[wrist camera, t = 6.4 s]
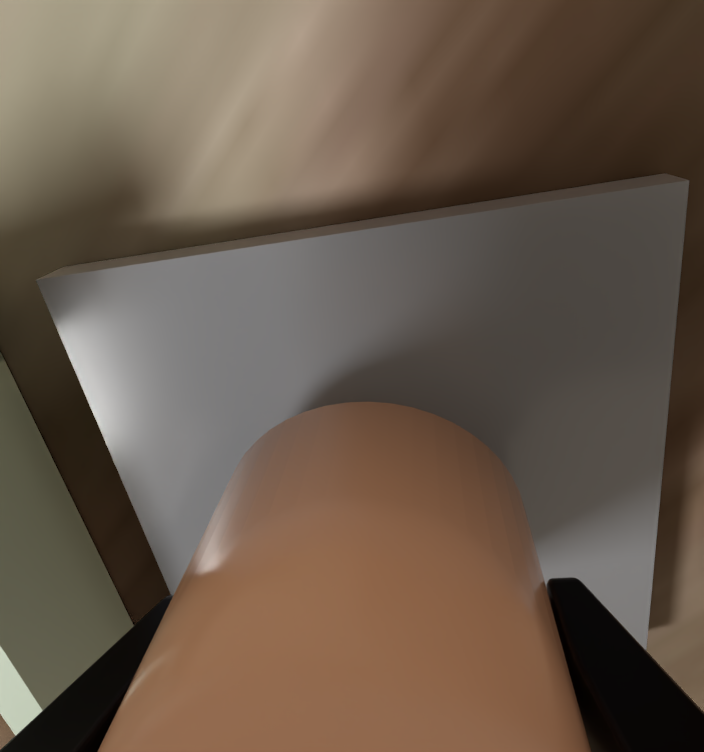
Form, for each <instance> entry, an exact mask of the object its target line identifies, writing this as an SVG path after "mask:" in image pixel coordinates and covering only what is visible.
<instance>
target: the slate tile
mask: <svg viewBox="0 0 704 752" xmlns="http://www.w3.org/2000/svg"><path fill="white" fill-rule="evenodd" d="M688 190H689V180H687V179H684V178H680V177H677V176H673V175H669V174H666V173H664V174H658V175H651V176H645V177H638V178H632V179H625V180H619V181H613V182H606V183H600V184H593V185H587V186H580V187H574V188H567V189H561V190H555V191H548V192H542V193H535V194H529V195H522V196H516V197H510V198H503V199H497V200H490V201H484V202H477V203H471V204H464V205H458V206H452V207H445V208H439V209H432V210H426V211H419V212H413V213H407V214H400V215H394V216H387V217H381V218H374V219H368V220H361V221H355V222H349V223H342V224H336V225H329V226H323V227H316V228H310V229H304V230H297V231H291V232H284V233H278V234H271V235H265V236H258V237H252V238H246V239H239V240H233V241H226V242H220V243H213V244H207V245H201V246H194V247H188V248H181V249H175V250H168V251H162V252H155V253H149V254H143V255H136V256H130V257H123V258H117V259H110V260H104V261H98V262H91V263H85V264H78V265H72V266H65V267H62V268H60V269H58V270H55V271H53V272H51V273H49V274H47V275H45V276H43V277H40V278H38V279H36V282H37V284H38V286H39V289H40V291H41V293H42V296H43V298H44V300H45V303H46V305H47V307H48V310H49V312H50V314H51V317H52V319H53V321H54V324H55V326H56V328H57V331H58V333H59V335H60V338H61V340H62V342H63V345H64V347H65V349H66V351H67V354H68V356H69V358H70V361H71V363H72V365H73V368H74V370H75V372H76V375H77V377H78V379H79V382H80V384H81V386H82V389H83V391H84V393H85V396H86V398H87V400H88V403H89V405H90V407H91V410H92V412H93V414H94V417H95V419H96V421H97V424H98V426H99V428H100V431H101V433H102V435H103V438H104V440H105V442H106V445H107V447H108V449H109V452H110V454H111V456H112V459H113V461H114V463H115V466H116V468H117V470H118V473H119V475H120V477H121V479H122V482H123V484H124V486H125V489H126V491H127V493H128V496H129V498H130V500H131V503H132V505H133V507H134V510H135V512H136V514H137V517H138V519H139V521H140V524H141V526H142V528H143V531H144V533H145V535H146V538H147V540H148V542H149V545H150V547H151V549H152V552H153V554H154V556H155V559H156V561H157V563H158V566H159V568H160V570H161V573H162V575H163V577H164V580H165V582H166V584H167V587H168V589H169V591H170V594H171V595H174V594H175V591H176V589H177V587H178V585H179V583H180V581H181V579H182V577H183V575H184V573H185V571H186V569H187V567H188V565H189V563H190V561H191V559H192V557H193V554H194V552H195V550H196V548H197V546H198V544H199V542H200V540H201V538H202V536H203V534H204V532H205V530H206V528H207V526H208V524H209V522H210V520H211V518H212V515H213V513H214V511H215V509H216V507H217V505H218V503H219V501H220V499H221V497H222V495H223V493H224V491H225V489H226V487H227V485H228V483H229V481H230V479H231V476H232V474H233V472H234V470H235V468H236V466H237V465H238V463H239V462H240V460H241V459H242V457H243V456H244V454H245V453H246V452H247V451H248V450H249V448H250V447H251V446H252V445H253V444H254V443H255V442H256V441H257V440H258V439H259V438H260V437H262V436H263V435H264V434H265V433H267V432H268V431H269V430H270V429H272V428H273V427H275V426H277V425H278V424H280V423H282V422H283V421H285V420H287V419H289V418H291V417H294V416H296V415H298V414H301V413H303V412H306V411H309V410H312V409H316V408H319V407H323V406H328V405H334V404H340V403H346V402H381V403H392V404H397V405H402V406H408V407H413V408H416V409H419V410H422V411H426V412H429V413H432V414H435V415H437V416H439V417H441V418H444V419H446V420H448V421H450V422H453V423H455V424H456V425H458V426H460V427H461V428H463V429H464V430H466V431H468V432H469V433H471V434H472V435H474V436H475V437H476V438H478V439H479V440H480V441H481V442H483V443H484V444H485V445H486V446H488V447H489V449H490V450H491V451H492V452H493V453H494V454H495V455H496V456H497V457H498V458H499V459H500V460H501V461H502V463H503V464H504V466H505V467H506V468H507V470H508V471H509V473H510V474H511V475H512V477H513V479H514V481H515V483H516V485H517V487H518V489H519V491H520V495H521V498H522V501H523V504H524V508H525V511H526V515H527V519H528V522H529V526H530V530H531V533H532V537H533V540H534V544H535V548H536V551H537V555H538V558H539V562H540V566H541V569H542V573H543V577H544V580H545V584H546V587H547V582H548V580H549V579H551V578H570V577H574V578H577V579H579V580H580V581H581V582H582V583H583V584H584V585H585V586H586V587H587V588H588V589H589V590H590V591H591V592H592V593H593V594H594V595H595V597H596V598H597V599H598V600H599V601H600V602H601V603H602V604H603V605H604V606H605V607H606V608H607V609H608V610H609V612H610V613H611V614H612V615H613V616H614V617H615V618H616V619H617V620H618V621H619V622H620V623H621V624H622V625H623V627H624V628H625V629H626V630H627V631H628V632H629V633H630V634H631V635H632V636H633V637H634V638H635V639H636V640H637V642H638V643H639V644H640V645H641V646H642V647H643V648H644V649H645V650H646V648H647V637H648V626H649V615H650V604H651V593H652V582H653V571H654V560H655V550H656V539H657V528H658V517H659V506H660V495H661V484H662V473H663V462H664V451H665V441H666V430H667V419H668V408H669V397H670V386H671V375H672V364H673V353H674V342H675V332H676V321H677V310H678V299H679V288H680V277H681V266H682V255H683V244H684V233H685V223H686V212H687V201H688Z"/></svg>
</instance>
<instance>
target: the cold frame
mask: <svg viewBox="0 0 704 752" xmlns="http://www.w3.org/2000/svg"><path fill="white" fill-rule="evenodd" d="M133 626H134V625H133V623H132V621H131V619H130V617H129V615H128V613H127V611H126V609H125V607H124V605H123V603H122V600H121V598H120V596H119V594H118V592H117V590H116V588H115V586H114V584H113V582H112V580H111V578H110V576H109V574H108V572H107V570H106V568H105V566H104V563H103V561H102V559H101V557H100V555H99V553H98V551H97V549H96V547H95V545H94V543H93V541H92V539H91V537H90V535H89V533H88V531H87V529H86V526H85V524H84V522H83V520H82V518H81V516H80V514H79V512H78V510H77V508H76V506H75V504H74V502H73V500H72V498H71V496H70V494H69V492H68V489H67V487H66V485H65V483H64V481H63V479H62V477H61V475H60V473H59V471H58V469H57V467H56V465H55V463H54V461H53V459H52V457H51V455H50V452H49V450H48V448H47V446H46V444H45V442H44V440H43V438H42V436H41V434H40V432H39V430H38V428H37V426H36V424H35V422H34V420H33V418H32V415H31V413H30V411H29V409H28V407H27V405H26V403H25V401H24V399H23V397H22V395H21V393H20V391H19V389H18V387H17V385H16V383H15V381H14V378H13V376H12V374H11V372H10V370H9V368H8V366H7V364H6V362H5V360H4V358H3V356H2V354H1V352H0V714H1V715H2V717H3V718H4V720H5V721H6V723H7V724H8V725H9V727H10V728H11V730H12V731H13V732H14V734H15V735H17V734H18V733H19V732H20V731H21V730H22V729H23V728H24V727H25V726H27V725H28V724H29V723H30V722H31V721H32V720H33V719H34V718H35V717H36V716H37V715H38V714H39V713H41V712H42V711H43V710H44V709H45V708H46V707H47V706H48V705H49V704H50V703H51V702H52V701H53V700H55V699H56V698H57V697H58V696H59V695H60V694H61V693H62V692H63V691H64V690H65V689H66V688H67V687H69V686H70V685H71V684H72V683H73V682H74V681H75V680H76V679H77V678H78V677H79V676H80V675H82V674H83V673H84V672H85V671H86V670H87V669H88V668H89V667H90V666H91V665H92V664H93V663H94V662H96V661H97V660H98V659H99V658H100V657H101V656H102V655H103V654H104V653H105V652H106V651H107V650H108V649H110V648H111V647H112V646H113V645H114V644H115V643H116V642H117V641H118V640H119V639H120V638H121V637H122V636H124V635H125V634H126V633H127V632H128V631H129V630H130V629H131V628H132V627H133Z"/></svg>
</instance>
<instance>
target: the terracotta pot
mask: <svg viewBox="0 0 704 752" xmlns="http://www.w3.org/2000/svg"><path fill="white" fill-rule="evenodd" d="M98 752H592V750H591V747H590V743H589V740H588V736H587V732H586V729H585V725H584V721H583V718H582V714H581V711H580V707H579V703H578V700H577V696H576V693H575V689H574V685H573V682H572V678H571V674H570V671H569V667H568V664H567V660H566V656H565V653H564V649H563V645H562V642H561V638H560V635H559V631H558V627H557V624H556V620H555V616H554V613H553V609H552V606H551V602H550V598H549V595H548V591H547V587H546V584H545V580H544V577H543V573H542V569H541V566H540V562H539V558H538V555H537V551H536V548H535V544H534V540H533V537H532V533H531V530H530V526H529V522H528V519H527V515H526V511H525V508H524V504H523V501H522V498H521V495H520V491H519V489H518V487H517V485H516V483H515V481H514V479H513V477H512V475H511V474H510V473H509V471H508V470H507V468H506V467H505V466H504V464H503V463H502V461H501V460H500V459H499V458H498V457H497V456H496V455H495V454H494V453H493V452H492V451H491V450H490V449H489V447H488V446H486V445H485V444H484V443H483V442H481V441H480V440H479V439H478V438H476V437H475V436H474V435H472V434H471V433H469V432H468V431H466V430H464V429H463V428H461V427H460V426H458V425H456V424H455V423H453V422H450V421H448V420H446V419H444V418H441V417H439V416H437V415H435V414H432V413H429V412H426V411H422V410H419V409H416V408H413V407H408V406H402V405H397V404H392V403H381V402H346V403H340V404H334V405H328V406H323V407H319V408H316V409H312V410H309V411H306V412H303V413H301V414H298V415H296V416H294V417H291V418H289V419H287V420H285V421H283V422H282V423H280V424H278V425H277V426H275V427H273V428H272V429H270V430H269V431H268V432H267V433H265V434H264V435H263V436H262V437H260V438H259V439H258V440H257V441H256V442H255V443H254V444H253V445H252V446H251V447H250V448H249V450H248V451H247V452H246V453H245V454H244V456H243V457H242V459H241V460H240V462H239V463H238V465H237V466H236V468H235V470H234V472H233V474H232V476H231V479H230V481H229V483H228V485H227V487H226V489H225V491H224V493H223V495H222V497H221V499H220V501H219V503H218V505H217V507H216V509H215V511H214V513H213V515H212V518H211V520H210V522H209V524H208V526H207V528H206V530H205V532H204V534H203V536H202V538H201V540H200V542H199V544H198V546H197V548H196V550H195V552H194V554H193V557H192V559H191V561H190V563H189V565H188V567H187V569H186V571H185V573H184V575H183V577H182V579H181V581H180V583H179V585H178V587H177V589H176V591H175V594H174V596H173V598H172V600H171V602H170V604H169V606H168V608H167V610H166V612H165V614H164V616H163V618H162V620H161V622H160V624H159V626H158V628H157V630H156V633H155V635H154V637H153V639H152V641H151V643H150V645H149V647H148V649H147V651H146V653H145V655H144V657H143V659H142V661H141V663H140V665H139V667H138V669H137V672H136V674H135V676H134V678H133V680H132V682H131V684H130V686H129V688H128V690H127V692H126V694H125V696H124V698H123V700H122V702H121V704H120V706H119V708H118V711H117V713H116V715H115V717H114V719H113V721H112V723H111V725H110V727H109V729H108V731H107V733H106V735H105V737H104V739H103V741H102V743H101V745H100V748H99V750H98Z"/></svg>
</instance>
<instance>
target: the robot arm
mask: <svg viewBox="0 0 704 752" xmlns="http://www.w3.org/2000/svg"><path fill="white" fill-rule="evenodd" d="M547 591H548V595H549V598H550V602H551V606H552V609H553V613H554V616H555V620H556V624H557V627H558V631H559V635H560V638H561V642H562V645H563V649H564V653H565V656H566V660H567V664H568V667H569V671H570V674H571V678H572V682H573V685H574V689H575V693H576V696H577V700H578V703H579V707H580V711H581V714H582V718H583V721H584V725H585V729H586V732H587V736H588V740H589V743H590V747H591V750H592V752H704V712H703V711H702V710H701V709H700V708H699V707H698V706H697V705H696V704H695V703H694V702H693V700H692V699H691V698H690V697H689V696H688V695H687V694H686V693H685V692H684V691H683V690H682V689H681V688H680V687H679V686H678V684H677V683H676V682H675V681H674V680H673V679H672V678H671V677H670V676H669V675H668V674H667V673H666V672H665V670H664V669H663V668H662V667H661V666H660V665H659V664H658V663H657V662H656V661H655V660H654V659H653V658H652V657H651V655H650V654H649V653H648V652H647V651H646V650H645V649H644V648H643V647H642V646H641V645H640V644H639V643H638V642H637V640H636V639H635V638H634V637H633V636H632V635H631V634H630V633H629V632H628V631H627V630H626V629H625V628H624V627H623V625H622V624H621V623H620V622H619V621H618V620H617V619H616V618H615V617H614V616H613V615H612V614H611V613H610V612H609V610H608V609H607V608H606V607H605V606H604V605H603V604H602V603H601V602H600V601H599V600H598V599H597V598H596V597H595V595H594V594H593V593H592V592H591V591H590V590H589V589H588V588H587V587H586V586H585V585H584V584H583V583H582V582H581V581H580V580H579V579H577V578H574V577H570V578H551V579H549V580H548V582H547ZM173 596H174V595H170V596H167V597H165V598H164V599H163V600H161V601H160V602H159V603H158V604H157V605H156V606H155V607H154V608H153V609H152V610H151V611H149V612H148V613H147V614H146V615H145V616H144V617H143V618H142V619H141V620H140V621H139V622H138V623H137V624H135V625H134V626H133V627H132V628H131V629H130V630H129V631H128V632H127V633H126V634H125V635H124V636H122V637H121V638H120V639H119V640H118V641H117V642H116V643H115V644H114V645H113V646H112V647H111V648H110V649H108V650H107V651H106V652H105V653H104V654H103V655H102V656H101V657H100V658H99V659H98V660H97V661H96V662H94V663H93V664H92V665H91V666H90V667H89V668H88V669H87V670H86V671H85V672H84V673H83V674H82V675H80V676H79V677H78V678H77V679H76V680H75V681H74V682H73V683H72V684H71V685H70V686H69V687H67V688H66V689H65V690H64V691H63V692H62V693H61V694H60V695H59V696H58V697H57V698H56V699H55V700H53V701H52V702H51V703H50V704H49V705H48V706H47V707H46V708H45V709H44V710H43V711H42V712H41V713H39V714H38V715H37V716H36V717H35V718H34V719H33V720H32V721H31V722H30V723H29V724H28V725H27V726H25V727H24V728H23V729H22V730H21V731H20V732H19V733H18V734H17V735H16V736H15V737H14V738H13V739H11V740H10V741H9V742H8V743H7V744H6V745H5V746H4V747H3V748H2V749H1V750H0V752H98V750H99V748H100V745H101V743H102V741H103V739H104V737H105V735H106V733H107V731H108V729H109V727H110V725H111V723H112V721H113V719H114V717H115V715H116V713H117V711H118V708H119V706H120V704H121V702H122V700H123V698H124V696H125V694H126V692H127V690H128V688H129V686H130V684H131V682H132V680H133V678H134V676H135V674H136V672H137V669H138V667H139V665H140V663H141V661H142V659H143V657H144V655H145V653H146V651H147V649H148V647H149V645H150V643H151V641H152V639H153V637H154V635H155V633H156V630H157V628H158V626H159V624H160V622H161V620H162V618H163V616H164V614H165V612H166V610H167V608H168V606H169V604H170V602H171V600H172V598H173Z"/></svg>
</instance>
